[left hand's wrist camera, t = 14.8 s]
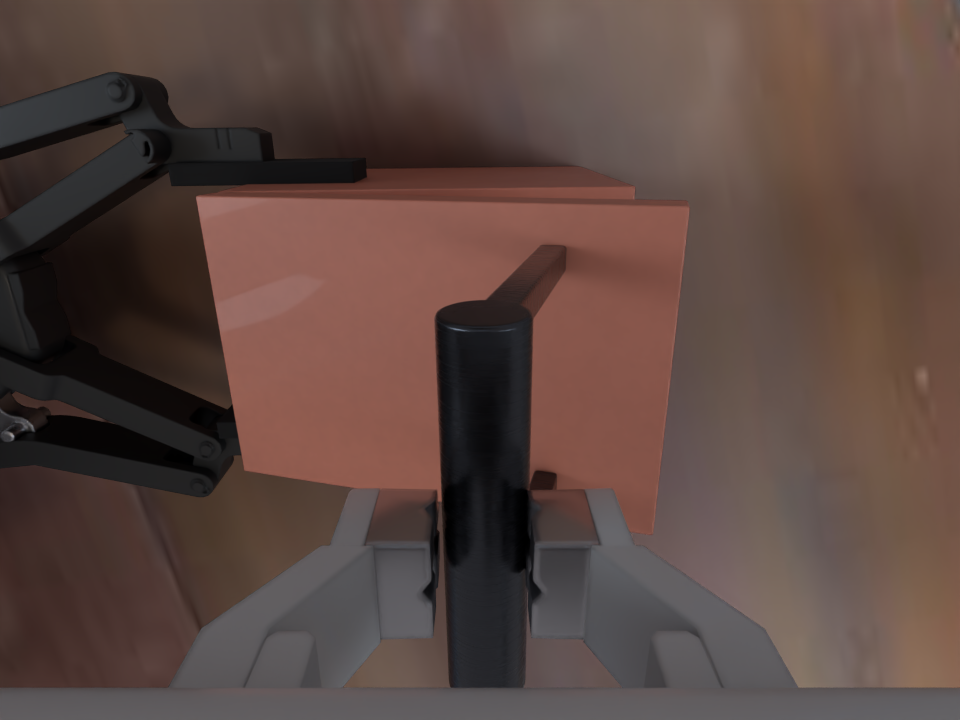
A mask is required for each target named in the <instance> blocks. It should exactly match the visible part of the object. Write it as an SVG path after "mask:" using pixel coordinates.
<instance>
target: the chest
mask: <svg viewBox="0 0 960 720" xmlns="http://www.w3.org/2000/svg"><path fill="white" fill-rule="evenodd" d="M366 170H367V177H366V178H364V179H362V180H360V181H358V182H356V183H317V184H247V185H243V186H239V187H235V188H231V189H227V190H223V191H220V192H266V193H318V194H371V195H423V196H476V197H528V198H581V199H633V200H634V197H635V186H632V185H629V184H627V183H624V182H621V181H618V180H616V179H613V178H610V177H607V176H604V175H602V174H599V173H596V172H593V171H591V170H588V169H585V168H582V167H579V166H558V167H475V168H392V169H366Z"/></svg>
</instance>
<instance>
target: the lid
mask: <svg viewBox="0 0 960 720" xmlns="http://www.w3.org/2000/svg"><path fill="white" fill-rule="evenodd" d="M196 200H197V206H198V212H199V217H200V223H201V229H202V234H203V240H204V245H205V251H206V257H207V262H208V268H209V274H210V279H211V285H212V291H213V296H214V302H215V307H216V313H217V319H218V324H219V330H220V336H221V341H222V347H223V353H224V358H225V364H226V370H227V375H228V381H229V386H230V392H231V398H232V403H233V409H234V415H235V420H236V426H237V432H238V437H239V443H240V449H241V454H242V460H243V465H244V470H245V471H250V472H256V473H262V474H268V475H275V476H281V477H287V478H294V479H300V480H306V481H313V482H319V483H325V484H332V485H338V486H344V487H350V488H380V489H382V488H387V489H437V491H438V501H439V502H442V522H443V547H444V571H445V596H446V621H447V646H448V671H449V684H450V687H451V688H523V687H524V684H525V671H526V626H527V592H528V589H527V588H526V582H525V569H524V567H525V540H526V537H527V525H526V502H527V490H566V489H592V488H611V489H613V490H614V492H615V494H616V497H617V500H618V502H619V505H620V507H621V510H622V513H623V515H624V518H625V521H626V523H627V526H628V528H629V531H630V532H634V533H641V534H647V535H652V534H653V530H654V521H655V512H656V503H657V494H658V485H659V477H660V468H661V459H662V450H663V441H664V433H665V424H666V415H667V406H668V397H669V388H670V380H671V371H672V362H673V353H674V344H675V335H676V327H677V318H678V309H679V300H680V291H681V283H682V274H683V265H684V256H685V247H686V238H687V230H688V221H689V212H690V207H689V204H688V201H686V200H633V199H581V198H528V197H476V196H423V195H371V194H318V193H266V192H218V193H211V194H204V195H198V196H196Z"/></svg>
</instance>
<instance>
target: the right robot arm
mask: <svg viewBox="0 0 960 720" xmlns="http://www.w3.org/2000/svg"><path fill="white" fill-rule="evenodd" d="M121 123H124V125H125V127H126V129H127V130H126V131H124V132H125V134H130V135H129V136H127V137H126V138H124V139H123V140H121V141H120V142H118V143H117V144H115V145H114V146H112V147H111V148H109V149H108V150H106V151H105V152H103V153H102V154H100V155H99V156H97V157H96V158H94V159H93V160H91V161H90V162H88V163H87V164H85V165H84V166H82V167H81V168H79V169H78V170H76V171H75V172H73V173H72V174H70V175H69V176H67V177H66V178H64V179H62V180H61V181H59V182H58V183H56V184H55V185H53V186H52V187H50V188H49V189H47V190H46V191H44V192H43V193H41V194H40V195H38V196H37V197H35V198H34V199H32V200H31V201H29V202H28V203H26V204H25V205H23V206H22V207H20V208H19V209H17V210H16V211H14V212H13V213H11V214H10V215H8V216H7V217H5V218H3V219H1V220H0V468H8V467H18V466H28V465H38V466H43V467H48V468H53V469H58V470H63V471H68V472H73V473H78V474H83V475H88V476H94V477H99V478H104V479H109V480H114V481H119V482H124V483H129V484H134V485H139V486H145V487H150V488H155V489H160V490H165V491H170V492H175V493H180V494H185V495H190V496H196V497H205V496H208V495H209V494H211V493H212V491H213V490H214V488H215V487H216V486H217V484H218V483H219V482H220V480H221V479H222V477H223V476H224V475H225V473H226V472H227V470H228V469H229V468H230V466H231V465H232V463H233V461H234V457H233V456H234V455H242V454H241V449H240V443H239V437H238V432H237V426H236V420H235V415H234V409H233V404H232V405H231V407H230V408H229V409H228V410H227V409H225V408H222V407H220V406H218V405H215V404H213V403H211V402H208V401H206V400H204V399H202V398H199V397H197V396H195V395H192V394H190V393H188V392H185V391H183V390H181V389H178V388H176V387H174V386H171V385H169V384H167V383H164V382H162V381H160V380H158V379H155V378H153V377H151V376H148V375H146V374H144V373H141V372H139V371H137V370H134V369H132V368H130V367H127V366H125V365H123V364H121V363H118V362H116V361H114V360H111V359H109V358H107V357H104V356H102V355H100V354H99V351H98V348H97V347H96V346H94V345H92V344H90V343H88V342H85V341H83V340H81V339H78V338H76V337H74V336H72V335H70V334H71V331H70V327H69V323H68V320H67V316H66V315H65V313H64V311H63V309H62V307H61V306H60V304H59V302H58V300H57V279H56V276H55V272H54V268H53V264H52V262H47V263H45V262H44V260H43V258H42V256H43V255H45V254H46V253H48V252H49V251H51V250H53V249H54V248H56V247H57V246H59V245H60V244H62V243H63V242H65V241H66V240H68V239H69V238H70V237H69V236H70V235H72V234H73V233H75V232H76V231H78V230H79V229H81V228H82V227H84V226H86V225H87V224H89V223H90V222H92V221H93V220H95V219H96V218H98V217H100V216H101V215H103V214H104V213H106V212H107V211H109V210H111V209H112V208H114V207H115V206H117V205H118V204H120V203H121V202H123V201H125V200H126V199H128V198H129V197H131V196H132V195H134V194H136V193H137V192H139V191H140V190H142V189H143V188H145V187H146V186H148V185H150V184H151V183H153V182H154V181H156V180H157V179H159V178H160V177H162V176H164V175H165V174H167V173H168V172H169V175H170V180H171V185H172V186H212V185H247V184H317V183H356V182H358V181H360V180H362V179H364V178H366V177H367V170H366V158H326V159H275V157H274V149H273V142H272V134H271V133H270V132H267V131H265V130H262V129H260V128H190V127H187V126H185V125H183V124H182V123H180V122H179V121H178V120H177V119H176V117H175V116H174V114H173V113H172V111H171V109H170V107H169V105H168V93H167V90H166V88H165V87H164V85H163V84H162V83H161V82H160V81H158V80H156V79H154V78H150V77H144V76H138V75H131V74H125V73H118V72H109V73H105V74H102V75H99V76H96V77H93V78H89V79H86V80H83V81H80V82H77V83H74V84H70V85H67V86H64V87H61V88H58V89H54V90H51V91H48V92H45V93H42V94H39V95H35V96H32V97H29V98H26V99H23V100H20V101H16V102H13V103H10V104H7V105H4V106H1V107H0V160H2V159H6V158H10V157H13V156H17V155H20V154H23V153H26V152H30V151H33V150H36V149H39V148H43V147H46V146H49V145H52V144H56V143H59V142H62V141H65V140H69V139H72V138H75V137H79V136H82V135H85V134H88V133H92V132H95V131H98V130H101V129H105V128H108V127H111V126H114V125H118V124H121ZM52 360H53V361H52ZM50 361H51V362H50ZM15 391H17V392H19V393H22V394H24V395H26V396H29V397H31V398H34V399H37V400H44V401H46V400H59V401H62V402H64V403H67V404H69V405H72V406H74V407H76V408H79V409H81V410H84V411H86V412H89V413H91V414H93V415H96V416H98V417H101V418H103V419H105V420H108V421H110V422H113V423H115V424H111V423H106V422H101V421H97V420H92V419H87V418H82V417H76V416H67V415H52V416H51V412H50V410H49V409H48V408H46V407H39V408H38V409H36V408H31V407H25V406H23V405H21V404H19V403H18V402H17V401H16V400H15V399H14V398H13V396H12V394H13V393H14V392H15ZM116 424H118V425H116Z"/></svg>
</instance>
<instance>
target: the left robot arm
mask: <svg viewBox="0 0 960 720" xmlns="http://www.w3.org/2000/svg"><path fill="white" fill-rule="evenodd" d="M438 513H439V506H438V491H437V489H387V488H382V489H380V488H353V489H352V490H351V491H350V492H349V494H348V496H347V499H346V502H345V505H344V507H343V510H342V513H341V515H340V518H339V521H338V524H337V526H336V529H335V532H334V535H333V537H332V540H331V543H330V546H320V547H319V548H317V549H316V550H314V551H313V552H311V553H310V554H308V555H307V556H305V557H304V558H303V559H301V560H300V561H298V562H297V563H295V564H294V565H292V566H291V567H290V568H288V569H287V570H285V571H284V572H282V573H281V574H279V575H278V576H276V577H275V578H274V579H272V580H271V581H269V582H268V583H266V584H265V585H263V586H262V587H261V588H259V589H258V590H256V591H255V592H253V593H252V594H250V595H249V596H247V597H246V598H245V599H243V600H242V601H240V602H239V603H237V604H236V605H234V606H233V607H232V608H230V609H229V610H227V611H226V612H224V613H223V614H221V615H220V616H218V617H217V618H216V619H214V620H213V621H211V622H210V623H208V624H207V625H205V626H204V627H203V628H201V630H200V632H199V634H198V635H197V637H196V639H195V641H194V642H193V644H192V646H191V648H190V650H189V651H188V653H187V655H186V657H185V658H184V660H183V662H182V664H181V665H180V667H179V669H178V671H177V673H176V674H175V676H174V678H173V680H172V681H171V683H170V685H169V687H168V688H0V720H960V688H798V686H797V684H796V683H795V681H794V679H793V677H792V676H791V674H790V672H789V670H788V669H787V667H786V665H785V663H784V662H783V660H782V658H781V656H780V655H779V653H778V651H777V649H776V648H775V646H774V644H773V642H772V641H771V639H770V637H769V635H768V634H767V632H766V630H765V629H764V628H763V627H761V626H760V625H758V624H757V623H755V622H754V621H752V620H751V619H749V618H748V617H747V616H745V615H744V614H742V613H741V612H739V611H738V610H736V609H735V608H733V607H732V606H731V605H729V604H728V603H726V602H725V601H723V600H722V599H720V598H719V597H717V596H716V595H715V594H713V593H712V592H710V591H709V590H707V589H706V588H704V587H703V586H701V585H700V584H699V583H697V582H696V581H694V580H693V579H691V578H690V577H688V576H687V575H685V574H684V573H682V572H681V571H680V570H678V569H677V568H675V567H674V566H672V565H671V564H669V563H668V562H666V561H665V560H664V559H662V558H661V557H659V556H658V555H656V554H655V553H653V552H652V551H650V550H649V549H648V548H646V547H645V546H635V544H634V542H633V539H632V536H631V534H630V531H629V528H628V526H627V523H626V521H625V518H624V515H623V513H622V510H621V507H620V505H619V502H618V500H617V497H616V494H615V492H614V490H613V489H611V488H592V489H566V490H527V502H526V525H527V537H526V540H525V567H524V569H525V582H526V588H527V589H528V612H529V621H530V630H531V638H554V639H584V643H585V644H586V645H587V646H588V648H589V649H590V650H591V651H592V652H593V653H594V655H595V656H596V657H597V658H598V659H599V660H600V662H601V663H602V664H603V665H604V666H605V668H606V669H607V670H608V671H609V672H610V673H611V675H612V676H613V677H614V678H615V679H616V681H617V682H618V683H619V684H620V685H621V686H622V688H342V687H343V686H344V685H345V684H346V683H347V682H348V680H349V679H350V678H351V677H352V676H353V674H354V673H355V672H356V671H357V670H358V669H359V667H360V666H361V665H362V664H363V663H364V661H365V660H366V659H367V658H368V657H369V655H370V654H371V653H372V652H373V651H374V650H375V648H376V647H377V646H378V645H379V644H380V642H381V641H380V639H409V638H433V632H434V622H435V612H436V588H437V587H438V579H439V559H440V539H439V531H438V530H437V524H438Z"/></svg>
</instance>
